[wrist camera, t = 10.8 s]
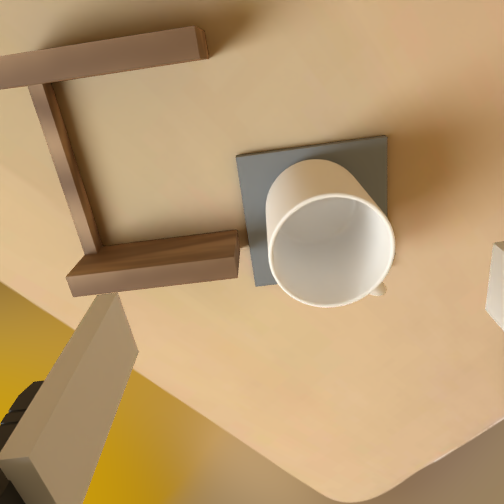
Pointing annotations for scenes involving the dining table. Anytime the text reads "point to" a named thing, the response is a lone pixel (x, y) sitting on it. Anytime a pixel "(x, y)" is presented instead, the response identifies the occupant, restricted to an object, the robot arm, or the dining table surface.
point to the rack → (96, 255)
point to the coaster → (275, 162)
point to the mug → (326, 236)
